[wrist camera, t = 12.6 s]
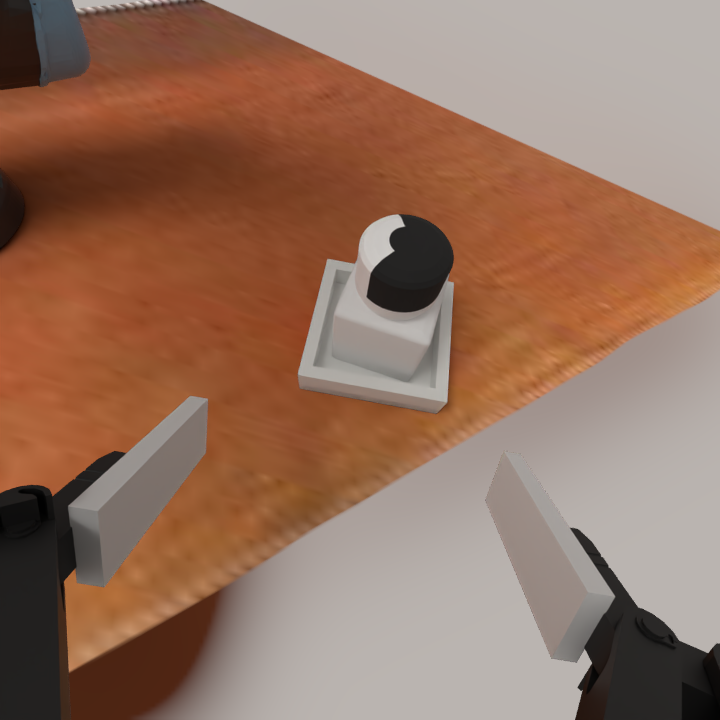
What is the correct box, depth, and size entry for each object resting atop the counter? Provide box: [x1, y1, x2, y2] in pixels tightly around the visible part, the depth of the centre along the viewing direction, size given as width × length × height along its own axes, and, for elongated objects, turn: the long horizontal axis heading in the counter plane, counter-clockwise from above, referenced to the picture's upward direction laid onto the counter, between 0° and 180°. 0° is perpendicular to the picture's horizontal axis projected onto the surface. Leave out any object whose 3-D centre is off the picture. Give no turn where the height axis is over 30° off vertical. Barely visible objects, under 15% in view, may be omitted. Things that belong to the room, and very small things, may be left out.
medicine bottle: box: [332, 214, 454, 382], centre depth 27 cm, size 7×7×12 cm
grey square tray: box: [298, 259, 454, 414], centre depth 32 cm, size 12×12×3 cm
